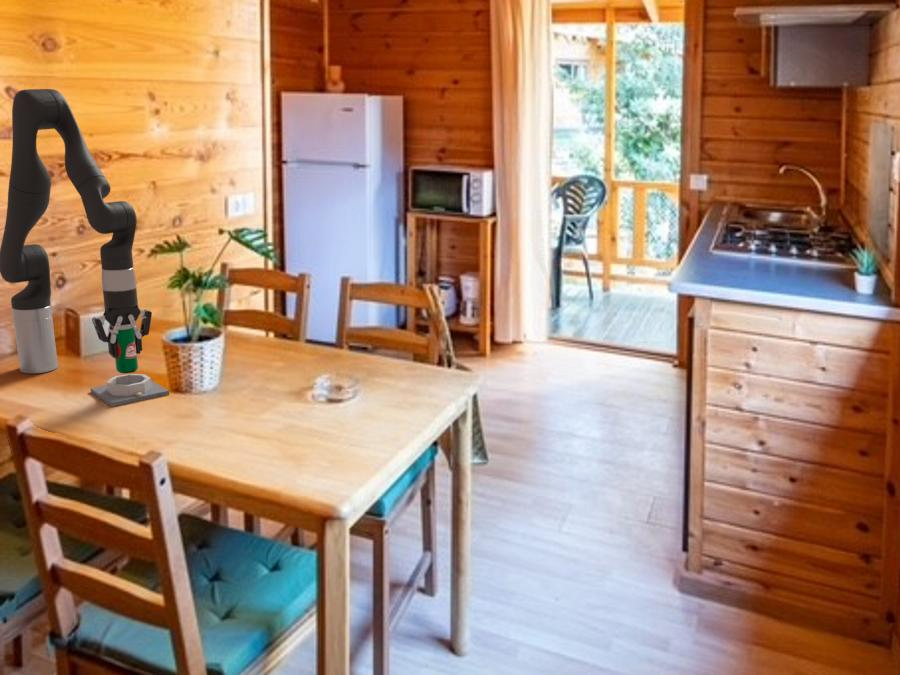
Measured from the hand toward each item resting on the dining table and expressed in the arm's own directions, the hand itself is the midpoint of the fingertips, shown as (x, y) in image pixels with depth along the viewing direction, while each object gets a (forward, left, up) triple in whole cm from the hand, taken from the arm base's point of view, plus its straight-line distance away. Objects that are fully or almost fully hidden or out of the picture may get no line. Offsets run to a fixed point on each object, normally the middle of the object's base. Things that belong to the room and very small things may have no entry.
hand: (126, 355), depth 208 cm
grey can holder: (0, 0, -10) cm, 10 cm away
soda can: (0, 0, -4) cm, 4 cm away
